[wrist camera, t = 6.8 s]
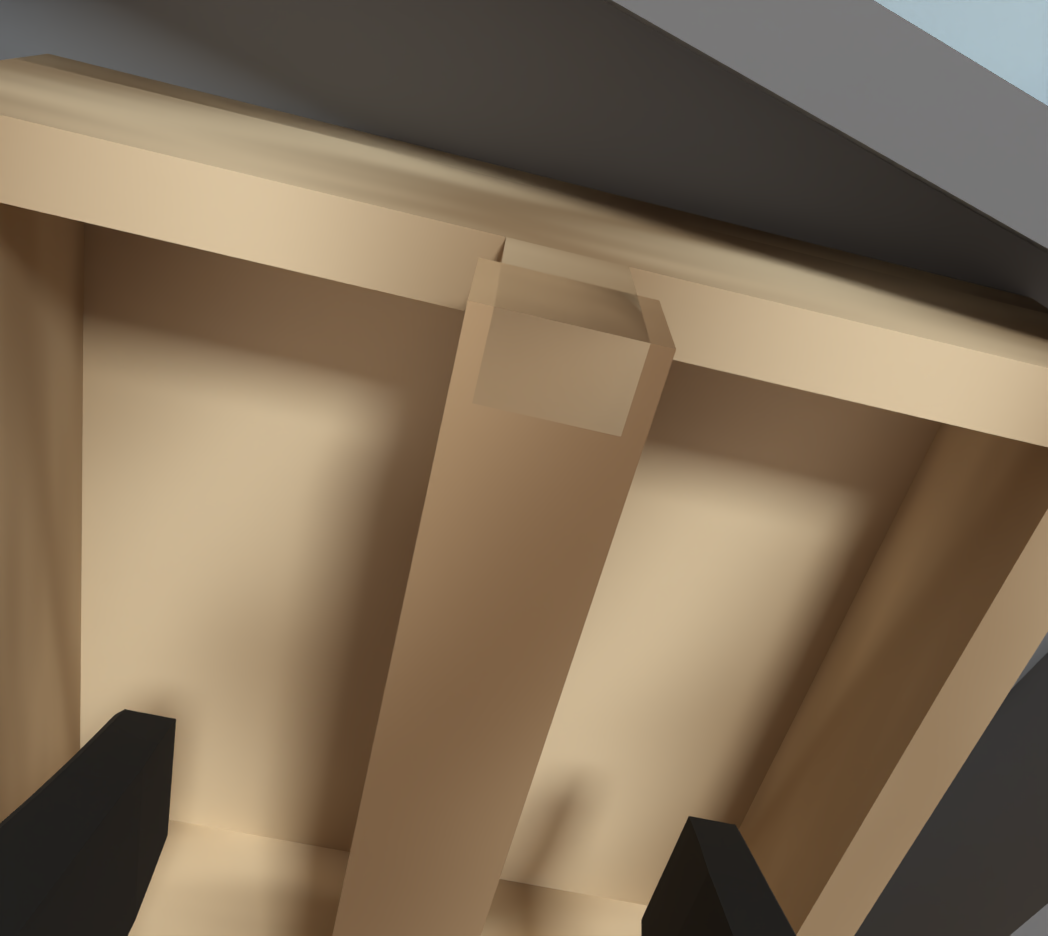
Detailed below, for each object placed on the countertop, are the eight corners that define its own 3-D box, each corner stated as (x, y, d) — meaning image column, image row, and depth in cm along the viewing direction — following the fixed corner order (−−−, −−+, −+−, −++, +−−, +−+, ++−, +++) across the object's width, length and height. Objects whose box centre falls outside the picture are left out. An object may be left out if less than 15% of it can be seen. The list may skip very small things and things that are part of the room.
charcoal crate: (1365, 347, 13) (1660, 478, 10) (665, 1050, 22) (687, 1255, 18) (-13, -471, 10) (-344, -739, 6) (-207, 765, 18) (-390, 953, 15)
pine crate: (1031, 297, 12) (1355, 509, 7) (716, 910, 18) (778, 1254, 13) (48, 52, 11) (-351, 108, 6) (55, 790, 17) (-145, 1118, 12)
